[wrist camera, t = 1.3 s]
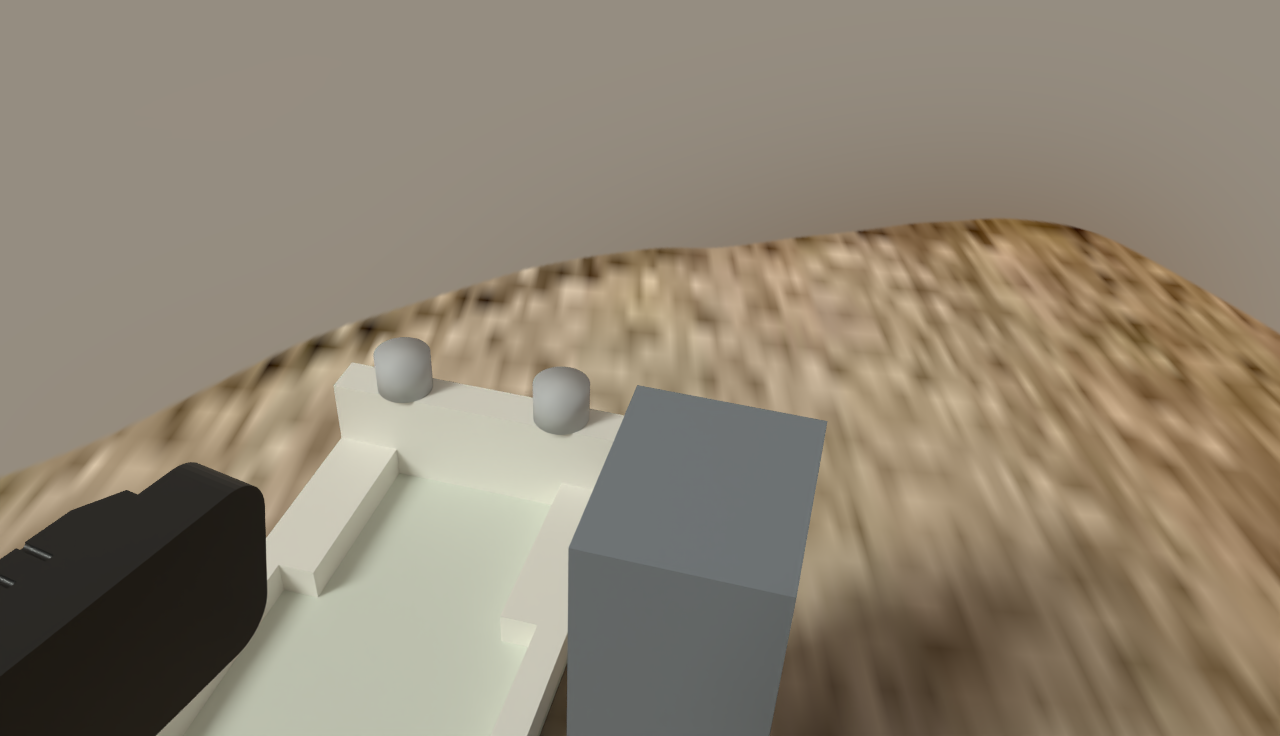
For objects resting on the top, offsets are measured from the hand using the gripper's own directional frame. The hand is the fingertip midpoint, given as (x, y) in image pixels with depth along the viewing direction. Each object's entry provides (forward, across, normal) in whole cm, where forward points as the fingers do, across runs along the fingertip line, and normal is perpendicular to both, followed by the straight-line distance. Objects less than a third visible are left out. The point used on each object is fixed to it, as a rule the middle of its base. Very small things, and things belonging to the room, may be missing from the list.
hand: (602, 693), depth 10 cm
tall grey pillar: (+13, 0, +18) cm, 22 cm away
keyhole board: (+16, +11, +19) cm, 27 cm away
